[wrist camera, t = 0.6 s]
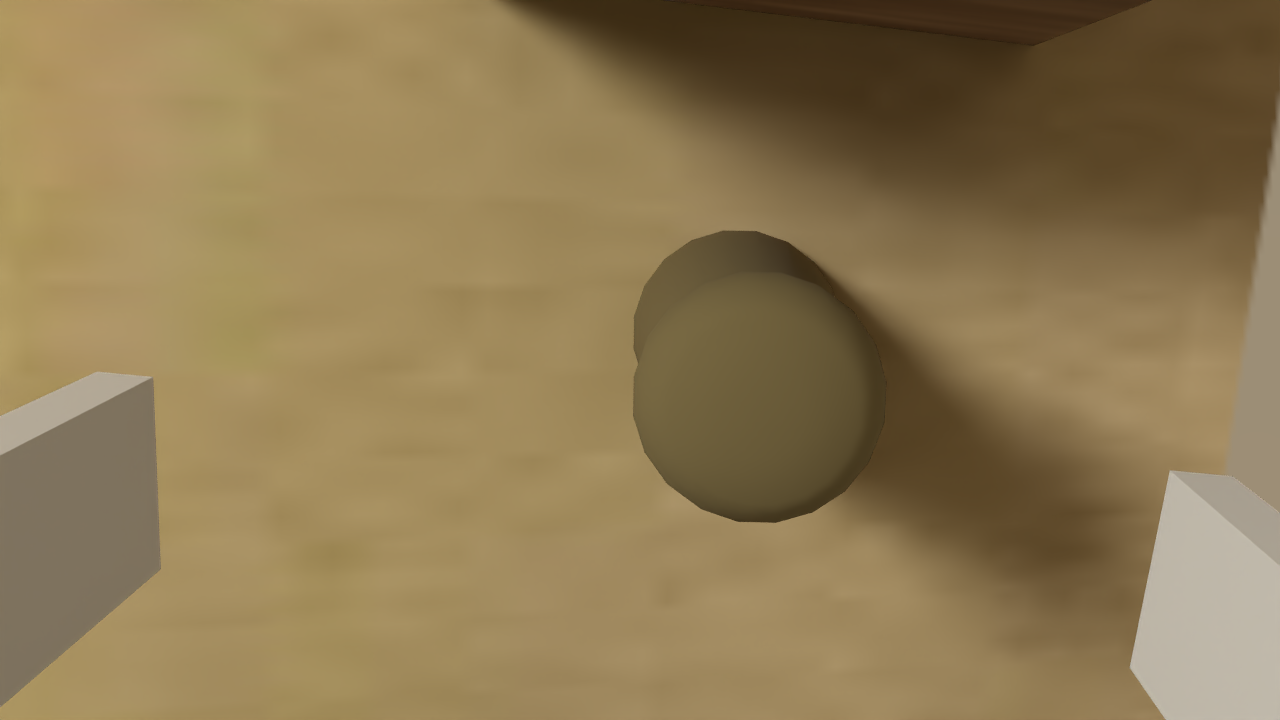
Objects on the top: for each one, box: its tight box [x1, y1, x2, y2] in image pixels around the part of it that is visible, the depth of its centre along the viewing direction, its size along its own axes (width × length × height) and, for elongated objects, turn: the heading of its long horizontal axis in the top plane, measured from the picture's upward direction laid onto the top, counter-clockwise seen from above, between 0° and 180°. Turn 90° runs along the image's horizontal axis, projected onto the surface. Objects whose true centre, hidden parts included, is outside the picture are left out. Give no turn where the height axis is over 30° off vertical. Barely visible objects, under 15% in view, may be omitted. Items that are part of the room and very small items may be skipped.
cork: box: [633, 231, 886, 523], centre depth 26 cm, size 6×6×11 cm
